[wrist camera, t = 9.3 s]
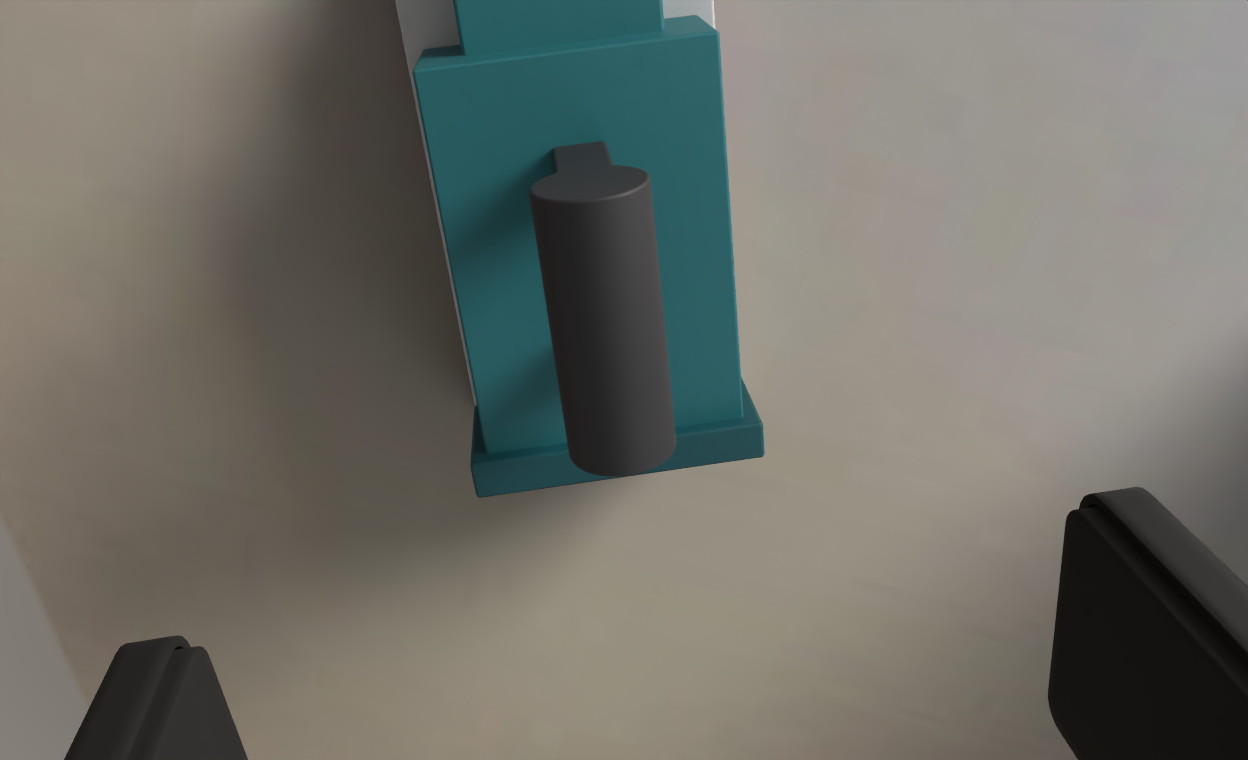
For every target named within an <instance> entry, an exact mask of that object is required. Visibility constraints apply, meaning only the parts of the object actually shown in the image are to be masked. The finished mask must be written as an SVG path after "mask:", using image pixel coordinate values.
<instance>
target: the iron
mask: <svg viewBox="0 0 1248 760" xmlns="http://www.w3.org/2000/svg"><path fill="white" fill-rule="evenodd" d="M395 4H396V9H397V14H398V19H399V24H400V29H401V34H402V39H403V44H404V49H405V54H406V60H407V65H408V70H409V75H410V80H411V85H412V90H413V95H414V100H415V105H416V110H417V116H418V121H419V126H420V131H421V136H422V141H423V146H424V151H425V156H426V161H427V166H428V171H429V177H430V182H431V187H432V192H433V197H434V202H435V207H436V212H437V217H438V222H439V227H440V233H441V238H442V243H443V248H444V253H445V258H446V263H447V268H448V273H449V278H450V283H451V289H452V294H453V299H454V304H455V309H456V314H457V319H458V324H459V329H460V334H461V339H462V345H463V350H464V355H465V360H466V365H467V370H468V375H469V380H470V385H471V390H472V395H473V401H474V406H475V408H474V420H473V435H472V450H471V464H470V467H471V472H472V477H473V482H474V487H475V492H476V495H477V496H478V497H480V498H481V497H488V496H495V495H502V494H509V493H516V492H523V491H530V490H537V489H543V488H550V487H557V486H564V485H571V484H578V483H585V482H592V481H599V480H606V479H613V478H619V477H626V476H633V475H640V474H647V473H654V472H661V471H668V470H675V469H682V468H689V467H696V466H702V465H709V464H716V463H723V462H730V461H737V460H744V459H751V458H758V457H762V456H763V455H764V437H763V424H762V422H761V419H760V417H759V415H758V413H757V411H756V408H755V406H754V404H753V402H752V400H751V397H750V395H749V393H748V391H747V389H746V386H745V384H744V382H743V380H742V378H741V370H740V354H739V338H738V323H737V307H736V291H735V275H734V260H733V244H732V228H731V212H730V197H729V181H728V165H727V149H726V133H725V118H724V102H723V86H722V70H721V55H720V39H719V32H718V31H717V30H715V16H714V0H395Z"/></svg>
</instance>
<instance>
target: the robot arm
mask: <svg viewBox="0 0 1248 760" xmlns="http://www.w3.org/2000/svg"><path fill="white" fill-rule="evenodd" d="M1048 701H1049V707H1050V711H1051V714H1052V717H1053V720H1054V722H1055V724H1056V726H1057V728H1058V730H1059V731H1060V733H1061V734H1062V736H1063V737H1064V739H1065V740H1066V742H1067V743H1068V745H1069V747H1070V748H1071V750H1072V751H1073V753H1074V754H1075V756H1076V757H1077V759H1078V760H1248V586H1247V585H1246V584H1245V583H1244V582H1242V581H1241V580H1240V579H1239V578H1238V577H1237V576H1236V575H1235V574H1234V573H1233V572H1232V571H1231V570H1230V569H1229V568H1228V567H1227V566H1226V565H1225V564H1224V563H1223V562H1222V561H1220V560H1219V559H1218V558H1217V557H1216V556H1215V555H1214V554H1213V553H1212V552H1211V551H1210V550H1209V549H1208V548H1207V547H1206V546H1205V545H1204V544H1203V543H1202V542H1201V541H1200V540H1199V539H1197V538H1196V537H1195V536H1194V535H1193V534H1192V533H1191V532H1190V531H1189V530H1188V529H1187V528H1186V527H1185V526H1184V525H1183V524H1182V523H1181V522H1180V521H1179V520H1178V519H1177V518H1176V517H1174V516H1173V515H1172V514H1171V513H1170V512H1169V511H1168V510H1167V509H1166V508H1165V507H1164V506H1163V505H1162V504H1161V503H1160V502H1159V501H1158V500H1157V499H1156V498H1155V497H1154V496H1153V495H1151V494H1150V493H1149V492H1148V491H1146V490H1145V489H1143V488H1140V487H1132V488H1126V489H1120V490H1113V491H1107V492H1100V493H1094V494H1089V495H1087V496H1085V497H1084V498H1083V499H1082V501H1081V503H1080V507H1079V509H1078V510H1073V511H1071V512H1070V513H1069V514H1068V516H1067V519H1066V525H1065V535H1064V544H1063V554H1062V563H1061V573H1060V583H1059V592H1058V602H1057V611H1056V621H1055V631H1054V640H1053V650H1052V659H1051V669H1050V679H1049V688H1048ZM64 760H248V758H247V756H246V753H245V750H244V748H243V745H242V742H241V740H240V737H239V734H238V732H237V729H236V726H235V724H234V721H233V719H232V716H231V713H230V711H229V708H228V705H227V703H226V700H225V697H224V695H223V692H222V689H221V687H220V684H219V681H218V679H217V676H216V673H215V671H214V668H213V665H212V663H211V660H210V657H209V655H208V653H207V651H206V650H205V649H204V648H203V647H200V646H198V647H190V645H189V643H188V641H187V640H186V639H185V638H184V637H183V636H171V637H165V638H158V639H152V640H145V641H139V642H132V643H126V644H124V645H123V646H121V647H120V648H119V650H118V651H117V653H116V654H115V656H114V658H113V660H112V662H111V664H110V666H109V669H108V671H107V673H106V675H105V677H104V679H103V681H102V683H101V685H100V687H99V689H98V691H97V693H96V695H95V697H94V699H93V701H92V703H91V705H90V708H89V710H88V712H87V714H86V716H85V718H84V720H83V722H82V724H81V726H80V728H79V730H78V732H77V734H76V736H75V738H74V740H73V742H72V744H71V747H70V749H69V751H68V753H67V755H66V757H65V759H64Z"/></svg>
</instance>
